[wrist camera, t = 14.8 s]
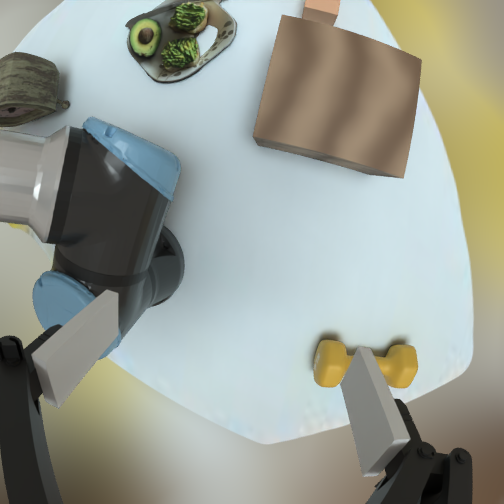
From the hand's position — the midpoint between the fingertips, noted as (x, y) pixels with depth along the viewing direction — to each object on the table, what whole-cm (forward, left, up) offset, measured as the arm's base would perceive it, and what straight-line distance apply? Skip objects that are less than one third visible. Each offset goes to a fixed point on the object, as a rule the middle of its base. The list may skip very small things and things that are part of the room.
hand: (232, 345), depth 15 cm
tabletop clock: (-45, +17, -32) cm, 58 cm away
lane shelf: (+6, +20, -32) cm, 38 cm away
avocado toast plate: (-20, +29, -32) cm, 48 cm away
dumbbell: (+24, -19, -32) cm, 44 cm away
